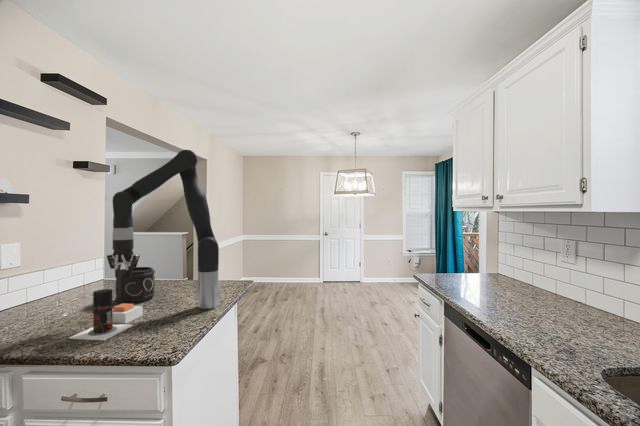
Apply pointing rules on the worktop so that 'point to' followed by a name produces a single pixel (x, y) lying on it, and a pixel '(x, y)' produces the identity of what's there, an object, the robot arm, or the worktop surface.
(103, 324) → the deodorant
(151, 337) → the worktop surface
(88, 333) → the white flat square slab
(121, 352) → the worktop surface
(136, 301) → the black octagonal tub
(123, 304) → the button
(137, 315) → the button housing
